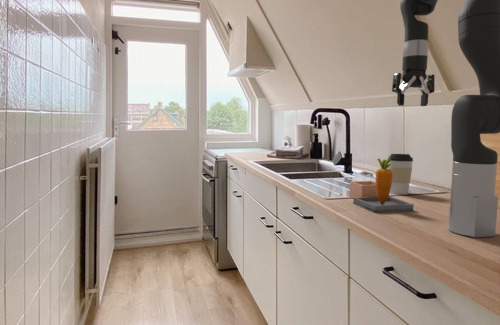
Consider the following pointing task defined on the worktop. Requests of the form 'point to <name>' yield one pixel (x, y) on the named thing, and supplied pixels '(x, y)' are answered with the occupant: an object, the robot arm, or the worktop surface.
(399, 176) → the coffee cup
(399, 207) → the charcoal tray
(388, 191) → the carrot
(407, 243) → the worktop surface
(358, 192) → the terracotta open box
